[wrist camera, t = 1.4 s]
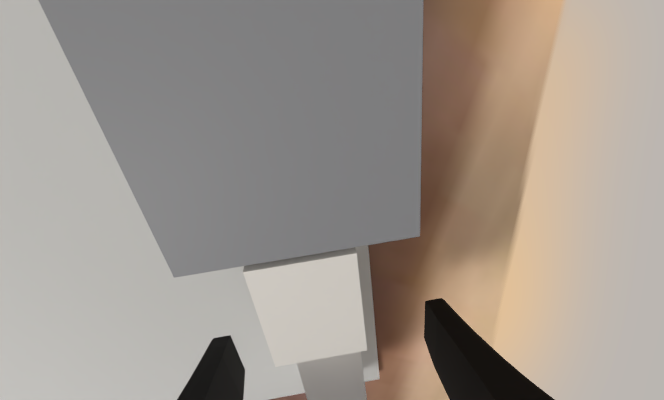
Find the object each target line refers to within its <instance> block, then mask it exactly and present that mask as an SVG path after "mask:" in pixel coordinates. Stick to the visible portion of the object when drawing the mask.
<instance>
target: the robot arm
mask: <svg viewBox="0 0 664 400" xmlns="http://www.w3.org/2000/svg"><path fill="white" fill-rule="evenodd" d="M424 338H425V341H426V344H427V347H428V350H429V353H430V356H431V359H432V361H433V364H434V367H435V369H436V371H437V373H438V375H439V378H440V380H441V382H442V384H443V386H444V388H445V390H446V393H447V395H448V397H449V399H450V400H554V399H553V398H552V397H550V396H549V395H548V394H546V393H545V392H544V391H543V390H541V389H540V388H539V387H537V386H536V385H535V384H534V383H532V382H531V381H530V380H529V379H527V378H526V377H525V376H524V375H522V374H521V373H520V372H519V371H518V370H517V369H515V368H514V367H513V366H512V365H511V364H510V363H508V362H507V361H506V360H505V359H503V357H501V356H500V355H499V354H498V353H497V352H496V351H495V350H494V349H493V348H492V347H491V346H489V345H488V344H487V343H486V342H485V341H484V340H483V339H482V338H481V337H480V336H479V335H478V334H477V333H476V332H475V331H474V330H473V329H472V328H471V327H470V326H469V325H468V324H467V323H466V322H465V321H464V320H463V319H462V318H461V317H460V316H459V315H458V314H457V313H456V312H455V311H454V310H453V309H452V308H451V307H450V306H449V305H448V304H447V303H446V302H445V300H443V299H442V298H440V299H434V300H429V301H425V330H424ZM244 381H245V368H244V366H243V364H242V361H241V359H240V357H239V354H238V352H237V350H236V347H235V345H234V343H233V340H232V338H231V335H229V336H223V337H217V338H213V339H212V341H211V342H210V344H209V346H208V348H207V350H206V351H205V353H204V355H203V357H202V358H201V360H200V362H199V364H198V365H197V367H196V369H195V371H194V372H193V374H192V376H191V377H190V379H189V381H188V382H187V384H186V386H185V387H184V389H183V391H182V392H181V394H180V395H179V397H178V399H177V400H243V396H244Z"/></svg>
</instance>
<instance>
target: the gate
mask: <svg viewBox="0 0 664 400" xmlns="http://www.w3.org/2000/svg"><path fill="white" fill-rule="evenodd" d="M38 1H39V3H40V5H41V7H42V9H43V11H44V13H45V15H46V17H47V19H48V21H49V23H50V25H51V27H52V29H53V31H54V33H55V35H56V37H57V39H58V41H59V43H60V46H61V48H62V50H63V52H64V54H65V56H66V58H67V60H68V62H69V64H70V66H71V68H72V70H73V72H74V74H75V76H76V78H77V80H78V82H79V84H80V86H81V88H82V90H83V93H84V95H85V97H86V99H87V101H88V103H89V105H90V107H91V109H92V111H93V113H94V115H95V117H96V119H97V121H98V123H99V125H100V127H101V129H102V131H103V133H104V135H105V138H106V140H107V142H108V144H109V146H110V148H111V150H112V152H113V154H114V156H115V158H116V160H117V162H118V164H119V166H120V168H121V170H122V172H123V174H124V176H125V178H126V180H127V182H128V185H129V187H130V189H131V191H132V193H133V195H134V197H135V199H136V201H137V203H138V205H139V207H140V209H141V211H142V213H143V215H144V217H145V219H146V221H147V223H148V225H149V227H150V230H151V232H152V234H153V236H154V238H155V240H156V242H157V244H158V246H159V248H160V250H161V252H162V254H163V256H164V258H165V260H166V262H167V264H168V266H169V268H170V270H171V272H172V274H173V277H174V278H176V277H181V276H187V275H193V274H199V273H205V272H211V271H217V270H223V269H229V268H235V267H241V266H244V269H243V274H244V277H245V280H246V283H247V286H248V289H249V292H250V295H251V298H252V301H253V303H254V306H255V309H256V312H257V315H258V318H259V321H260V324H261V327H262V330H263V333H264V335H265V338H266V341H267V344H268V347H269V350H270V353H271V356H272V359H273V362H274V364H275V367H278V366H284V365H289V364H295V363H297V365H298V369H299V372H300V376H301V379H302V383H303V386H304V390H305V393H306V397H307V400H367V398H366V390H365V382H364V374H363V366H362V358H361V351H367V343H366V334H365V325H364V316H363V307H362V297H361V288H360V279H359V270H358V261H357V253H356V249H355V247H360V246H366V245H372V244H378V243H384V242H390V241H396V240H402V239H408V238H413V237H419V236H420V200H421V131H422V62H423V0H38Z"/></svg>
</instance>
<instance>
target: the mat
mask: <svg viewBox="0 0 664 400" xmlns="http://www.w3.org/2000/svg"><path fill="white" fill-rule="evenodd" d="M355 249H356V253H357V261H358V270H359V279H360V288H361V297H362V307H363V316H364V325H365V334H366V343H367V351H361V358H362V366H363V374H364V382H366V381H371V380H377V379H380V378H379V366H378V355H377V343H376V331H375V319H374V307H373V296H372V284H371V272H370V260H369V249H368V245H366V246H360V247H355ZM243 269H244V266H241V267H235V268H229V269H223V270H217V271H211V272H205V273H199V274H193V275H187V276H181V277H176V278H174V277H173V274H172V272H171V270H170V268H169V266H168V264H167V262H166V260H165V258H164V256H163V254H162V252H161V250H160V248H159V246H158V244H157V242H156V240H155V238H154V236H153V234H152V232H151V230H150V227H149V225H148V223H147V221H146V219H145V217H144V215H143V213H142V211H141V209H140V207H139V205H138V203H137V201H136V199H135V197H134V195H133V193H132V191H131V189H130V187H129V185H128V182H127V180H126V178H125V176H124V174H123V172H122V170H121V168H120V166H119V164H118V162H117V160H116V158H115V156H114V154H113V152H112V150H111V148H110V146H109V144H108V142H107V140H106V138H105V135H104V133H103V131H102V129H101V127H100V125H99V123H98V121H97V119H96V117H95V115H94V113H93V111H92V109H91V107H90V105H89V103H88V101H87V99H86V97H85V95H84V93H83V90H82V88H81V86H80V84H79V82H78V80H77V78H76V76H75V74H74V72H73V70H72V68H71V66H70V64H69V62H68V60H67V58H66V56H65V54H64V52H63V50H62V48H61V46H60V43H59V41H58V39H57V37H56V35H55V33H54V31H53V29H52V27H51V25H50V23H49V21H48V19H47V17H46V15H45V13H44V11H43V9H42V7H41V5H40V3H39V1H38V0H0V400H177V399H178V397H179V395H180V394H181V392H182V391H183V389H184V387H185V386H186V384H187V382H188V381H189V379H190V377H191V376H192V374H193V372H194V371H195V369H196V367H197V365H198V364H199V362H200V360H201V358H202V357H203V355H204V353H205V351H206V350H207V348H208V346H209V344H210V342H211V341H212V339H213V338H217V337H223V336H229V335H231V338H232V340H233V343H234V345H235V347H236V350H237V352H238V354H239V357H240V359H241V361H242V364H243V366H244V368H245V381H244V396H243V400H268V399H274V398H279V397H285V396H290V395H295V394H301V393H305V390H304V386H303V383H302V379H301V376H300V372H299V369H298V365H297V363H295V364H289V365H284V366H278V367H275V364H274V362H273V359H272V356H271V353H270V350H269V347H268V344H267V341H266V338H265V335H264V333H263V330H262V327H261V324H260V321H259V318H258V315H257V312H256V309H255V306H254V303H253V301H252V298H251V295H250V292H249V289H248V286H247V283H246V280H245V277H244V274H243Z"/></svg>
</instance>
